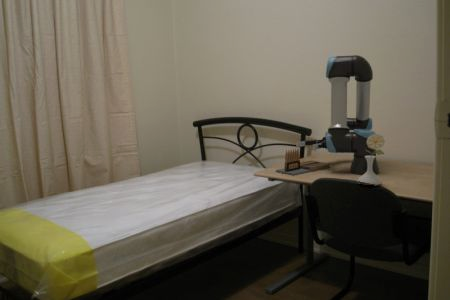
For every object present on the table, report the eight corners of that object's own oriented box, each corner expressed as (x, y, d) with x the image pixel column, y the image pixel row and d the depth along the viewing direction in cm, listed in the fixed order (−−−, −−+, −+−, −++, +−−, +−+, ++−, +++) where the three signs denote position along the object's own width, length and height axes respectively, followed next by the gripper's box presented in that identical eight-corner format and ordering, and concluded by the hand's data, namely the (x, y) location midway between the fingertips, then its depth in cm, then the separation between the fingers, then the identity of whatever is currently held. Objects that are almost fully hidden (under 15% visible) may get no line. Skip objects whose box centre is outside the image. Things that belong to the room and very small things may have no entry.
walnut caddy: (329, 167, 246) (329, 163, 245) (310, 171, 237) (310, 167, 236) (311, 164, 257) (311, 160, 257) (292, 168, 248) (292, 164, 247)
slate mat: (309, 172, 236) (309, 170, 236) (293, 175, 229) (293, 173, 229) (292, 168, 248) (292, 166, 247) (275, 171, 240) (275, 170, 240)
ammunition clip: (298, 168, 242) (297, 147, 240) (300, 169, 240) (300, 148, 238) (284, 171, 236) (284, 150, 234) (286, 171, 234) (286, 150, 232)
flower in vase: (352, 185, 203) (353, 133, 200) (365, 180, 211) (365, 131, 207) (377, 189, 194) (378, 135, 190) (390, 184, 201) (391, 132, 197)
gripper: (346, 150, 246) (321, 154, 233) (314, 146, 265) (290, 150, 253) (346, 137, 244) (321, 141, 232) (314, 134, 264) (289, 137, 252)
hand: (304, 145), depth 243 cm, fingers open, 12 cm apart
